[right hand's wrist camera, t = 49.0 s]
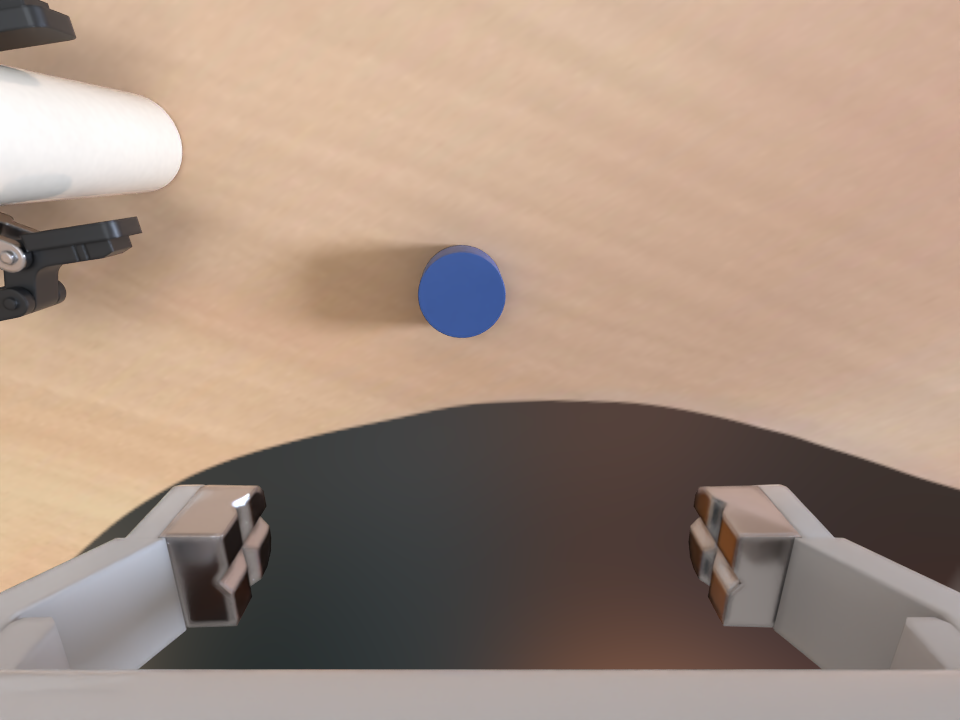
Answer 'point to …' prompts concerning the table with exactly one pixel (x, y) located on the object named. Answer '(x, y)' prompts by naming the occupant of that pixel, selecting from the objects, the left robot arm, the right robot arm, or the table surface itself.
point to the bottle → (80, 140)
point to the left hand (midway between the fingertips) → (95, 129)
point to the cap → (461, 292)
